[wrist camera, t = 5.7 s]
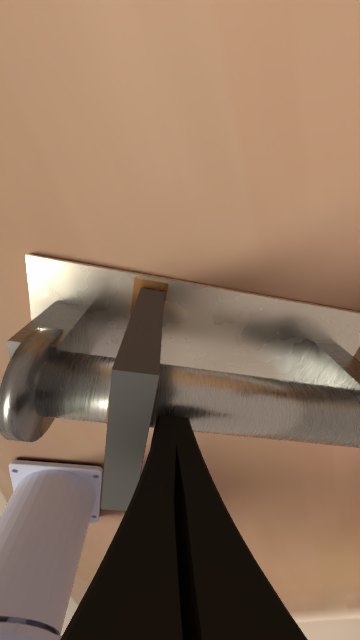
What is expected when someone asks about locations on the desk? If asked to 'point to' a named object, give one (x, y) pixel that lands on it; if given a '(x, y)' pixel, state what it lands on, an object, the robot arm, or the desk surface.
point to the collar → (132, 400)
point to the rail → (183, 357)
